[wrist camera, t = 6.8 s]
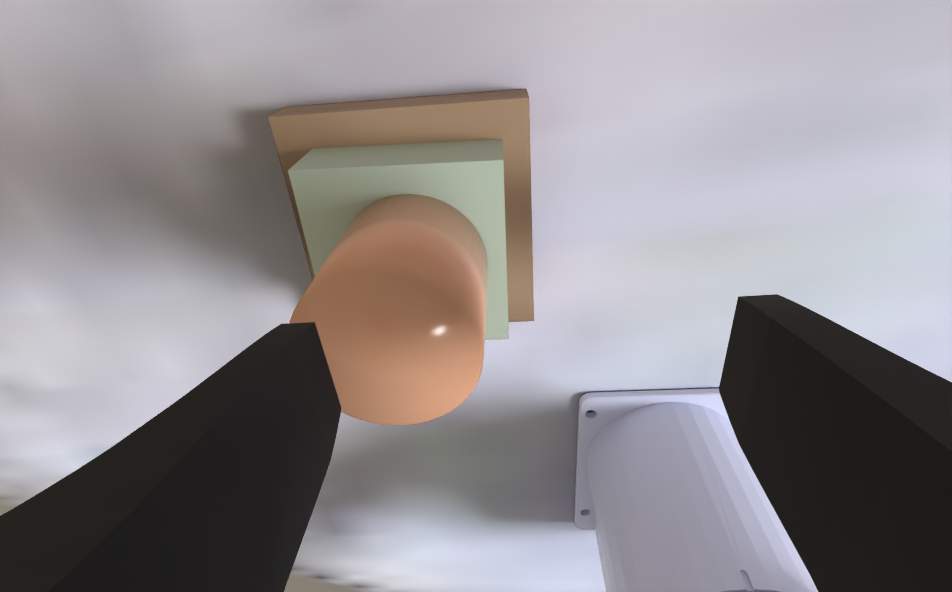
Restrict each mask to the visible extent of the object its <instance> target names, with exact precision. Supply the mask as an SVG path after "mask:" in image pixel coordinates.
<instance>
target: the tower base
mask: <svg viewBox="0 0 952 592" xmlns="http://www.w3.org/2000/svg"><path fill="white" fill-rule="evenodd" d="M268 119H269V123H270V127H271V130H272V134H273V137H274V141H275V145H276V148H277V152H278V155H279V159H280V163H281V166H282V170H283V173H284V177H285V181H286V184H287V188H288V191H289V195H290V199H291V202H292V206H293V210H294V213H295V217H296V220H297V224H298V228H299V231H300V235H301V238H302V242H303V246H304V249H305V253H306V256H307V260H308V264H309V267H310V271H311V274H312V278H313V280H314V278H315V275H314V271H313V267H312V263H311V260H310V256H309V252H308V248H307V244H306V240H305V236H304V232H303V228H302V224H301V220H300V216H299V212H298V208H297V204H296V200H295V196H294V192H293V189H292V185H291V181H290V177H289V173H288V170H289V169H290V168H291V167H292V166H293V165H295V164H296V163H297V162H298V161H299V160H300V159H301V158H303V157H304V156H305V155H306V154H307V153H308V152H309V151H311V150H312V149H315V148H335V147H354V146H374V145H393V144H413V143H433V142H452V141H472V140H492V139H502V140H503V163H504V196H505V228H506V261H507V293H508V322H521V321H534V302H533V257H532V211H531V165H530V119H529V96H528V93H527V90H526V89H515V90H502V91H489V92H476V93H463V94H449V95H436V96H423V97H410V98H397V99H383V100H370V101H357V102H344V103H331V104H317V105H304V106H291V107H285V108H283V109H281V110H280V111H278V112H276V113H274V114H273V115H271V116H269V117H268Z"/></svg>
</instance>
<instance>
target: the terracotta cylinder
mask: <svg viewBox="0 0 952 592" xmlns="http://www.w3.org/2000/svg"><path fill="white" fill-rule="evenodd" d="M487 277H488V257H487V252H486V248H485V245H484V242H483V240H482V238H481V236H480V234H479V232H478V231H477V229H476V228H475V226H474V225H473V224H472V223H471V221H470V220H469V219H468V218H467V217H466V216H465V215H463V214H462V213H461V212H460V211H459V210H457V209H456V208H454V207H453V206H451V205H449V204H447V203H445V202H443V201H441V200H438V199H436V198H433V197H429V196H424V195H417V194H399V195H393V196H389V197H386V198H382V199H380V200H378V201H375V202H373V203H371V204H370V205H368V206H367V207H365V208H364V209H363V210H362V211H361V212H359V213H358V214H357V215H356V217H355V218H354V219H353V220H352V221H351V223H350V224H349V226H348V227H347V229H346V231H345V232H344V234H343V235H342V237H341V238H340V240H339V241H338V243H337V244H336V246H335V247H334V249H333V250H332V252H331V254H330V255H329V257H328V258H327V260H326V261H325V263H324V264H323V266H322V267H321V269H320V270H319V272H318V273H317V275H316V277H315V278H314V280H313V281H312V283H311V284H310V286H309V287H308V289H307V290H306V292H305V293H304V295H303V296H302V298H301V300H300V301H299V303H298V304H297V306H296V308H295V309H294V312H293V314H292V317H291V319H290V323H306V322H315V324H316V327H317V331H318V334H319V337H320V340H321V344H322V347H323V350H324V353H325V356H326V360H327V363H328V366H329V369H330V373H331V376H332V379H333V382H334V385H335V389H336V392H337V395H338V398H339V402H340V405H341V412H343V413H345V414H347V415H350V416H352V417H355V418H357V419H361V420H364V421H368V422H372V423H378V424H385V425H410V424H418V423H423V422H427V421H430V420H433V419H436V418H439V417H441V416H443V415H445V414H447V413H449V412H450V411H452V410H454V409H455V408H456V407H458V406H459V405H460V404H461V403H463V402H464V401H465V399H466V398H467V397H468V396H469V395H470V394H471V392H472V391H473V389H474V388H475V386H476V384H477V382H478V380H479V378H480V375H481V371H482V367H483V357H484V337H485V317H486V297H487Z"/></svg>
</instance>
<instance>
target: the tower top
mask: <svg viewBox="0 0 952 592" xmlns="http://www.w3.org/2000/svg"><path fill="white" fill-rule="evenodd" d="M288 173H289V177H290V181H291V185H292V189H293V192H294V196H295V200H296V204H297V208H298V212H299V216H300V220H301V224H302V228H303V232H304V236H305V240H306V244H307V248H308V252H309V256H310V260H311V263H312V267H313V271H314V275H315V277H316V275H317V273H318V272H319V270H320V269H321V267H322V266H323V264H324V263H325V261H326V260H327V258H328V257H329V255H330V254H331V252H332V250H333V249H334V247H335V246H336V244H337V243H338V241H339V240H340V238H341V237H342V235H343V234H344V232H345V231H346V229H347V227H348V226H349V224H350V223H351V221H352V220H353V219H354V218H355V217H356V215H357V214H358V213H359V212H361V211H362V210H363V209H364V208H365V207H367V206H368V205H370V204H371V203H373V202H375V201H378V200H380V199H382V198H386V197H389V196H393V195H399V194H417V195H424V196H429V197H433V198H436V199H438V200H441V201H443V202H445V203H447V204H449V205H451V206H453V207H454V208H456V209H457V210H459V211H460V212H461V213H462V214H463V215H465V216H466V217H467V218H468V219H469V220H470V221H471V223H472V224H473V225H474V226H475V228H476V229H477V231H478V232H479V234H480V236H481V238H482V240H483V242H484V245H485V248H486V252H487V257H488V277H487V297H486V317H485V337H484V340H492V339H509V326H508V293H507V261H506V228H505V196H504V163H503V140H502V139H492V140H472V141H452V142H433V143H413V144H393V145H374V146H354V147H335V148H315V149H312V150H311V151H309V152H308V153H307V154H306V155H305V156H304V157H303V158H301V159H300V160H299V161H298V162H297V163H296V164H295V165H293V166H292V167H291V168H290V169H289V170H288Z"/></svg>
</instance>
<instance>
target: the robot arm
mask: <svg viewBox="0 0 952 592" xmlns="http://www.w3.org/2000/svg"><path fill="white" fill-rule="evenodd" d="M589 410H594V411H593V412H590V413H589V412H587V411H589ZM340 413H341V405H340V402H339V398H338V395H337V392H336V389H335V385H334V382H333V379H332V376H331V373H330V369H329V366H328V363H327V360H326V356H325V353H324V350H323V347H322V344H321V340H320V337H319V334H318V331H317V327H316V324H315V322H306V323H290V324H281V325H279V326H277V327H276V328H274V329H273V330H271V331H270V332H268V333H267V334H265V335H264V336H263V337H261V338H260V339H258V340H257V341H256V342H254V343H253V344H252V345H250V346H249V347H248V348H246V349H245V350H244V351H242V352H241V353H240V354H238V355H237V356H236V357H235V358H233V359H232V360H231V361H229V362H228V363H227V364H225V365H224V366H223V367H222V368H220V369H219V370H218V371H216V372H215V373H214V374H212V375H211V376H210V377H208V378H207V379H206V380H204V381H203V382H202V383H200V384H199V385H198V386H196V387H195V388H194V389H193V390H191V391H190V392H189V393H187V394H186V395H185V396H183V397H182V398H181V399H179V400H178V401H176V402H175V403H174V404H172V405H171V406H169V407H168V408H167V409H165V410H164V411H162V412H161V413H160V414H158V415H157V416H155V417H154V418H152V419H151V420H150V421H148V422H147V423H145V424H144V425H143V426H141V427H140V428H138V429H137V430H136V431H134V432H133V433H131V434H130V435H128V436H127V437H126V438H124V439H123V440H121V441H120V442H119V443H117V444H116V445H114V446H113V447H111V448H110V449H108V450H107V451H105V452H104V453H102V454H101V455H99V456H98V457H96V458H95V459H93V460H92V461H90V462H89V463H87V464H85V465H84V466H82V467H81V468H79V469H78V470H76V471H75V472H73V473H71V474H70V475H68V476H66V477H65V478H63V479H62V480H60V481H58V482H57V483H55V484H53V485H52V486H50V487H48V488H47V489H45V490H44V491H42V492H40V493H39V494H37V495H35V496H34V497H32V498H31V499H29V500H27V501H25V502H24V503H22V504H20V505H19V506H17V507H15V508H14V509H12V510H10V511H8V512H7V513H5V514H3V515H1V516H0V592H284V589H285V586H286V583H287V580H288V578H289V575H290V572H291V569H292V567H293V564H294V561H295V558H296V556H297V553H298V550H299V547H300V545H301V542H302V539H303V536H304V533H305V531H306V528H307V525H308V522H309V520H310V517H311V514H312V511H313V509H314V506H315V503H316V500H317V497H318V495H319V492H320V489H321V486H322V483H323V480H324V477H325V475H326V472H327V469H328V466H329V463H330V460H331V456H332V451H333V447H334V443H335V438H336V434H337V428H338V423H339V418H340ZM574 519H575V525H576V527H577V528H579V529H583V530H595V532H596V537H597V543H598V549H599V554H600V560H601V565H602V571H603V576H604V582H605V587H606V592H952V382H950V381H948V380H946V379H944V378H942V377H940V376H937V375H935V374H933V373H931V372H929V371H927V370H925V369H923V368H921V367H919V366H918V365H916V364H914V363H912V362H910V361H908V360H906V359H904V358H902V357H900V356H898V355H896V354H894V353H892V352H890V351H888V350H886V349H884V348H882V347H881V346H879V345H877V344H875V343H873V342H871V341H869V340H867V339H865V338H863V337H861V336H860V335H858V334H856V333H854V332H852V331H850V330H848V329H846V328H844V327H842V326H841V325H839V324H837V323H835V322H833V321H831V320H829V319H827V318H825V317H823V316H821V315H819V314H817V313H815V312H814V311H812V310H810V309H808V308H806V307H804V306H801V305H799V304H797V303H795V302H793V301H791V300H789V299H786V298H784V297H782V296H779V295H760V296H743V297H738V301H737V305H736V310H735V315H734V320H733V325H732V329H731V334H730V339H729V344H728V348H727V353H726V358H725V363H724V368H723V372H722V377H721V382H720V387H719V388H714V389H684V390H653V391H622V392H591V393H586V394H584V395H582V396H581V398H580V400H579V416H578V441H577V466H576V491H575V517H574Z"/></svg>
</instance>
